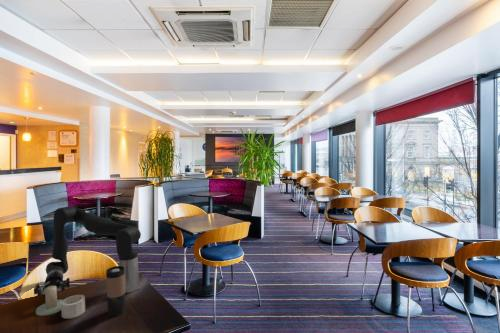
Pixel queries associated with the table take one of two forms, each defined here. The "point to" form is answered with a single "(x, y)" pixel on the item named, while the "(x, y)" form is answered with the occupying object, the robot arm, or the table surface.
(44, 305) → the lid
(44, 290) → the robot arm
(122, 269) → the travel mug
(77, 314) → the bowl
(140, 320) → the table surface
